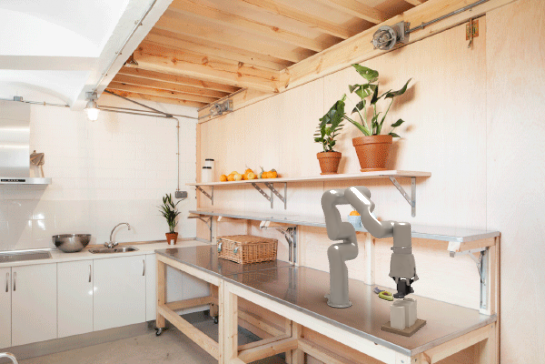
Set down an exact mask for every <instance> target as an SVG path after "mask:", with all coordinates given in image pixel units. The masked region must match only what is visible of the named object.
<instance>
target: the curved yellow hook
mask: <svg viewBox="0 0 545 364" xmlns="http://www.w3.org/2000/svg"><path fill="white" fill-rule="evenodd" d="M373 291H374V292H375V293H377V294H378V297H379V298H381V299H383V300H387V301H394V297H393V294H392V293H393V292H390V291H386V290H384V289H380V288H378V286H375V287H374V288H373Z"/></svg>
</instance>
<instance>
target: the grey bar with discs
mask: <svg viewBox="0 0 545 364" xmlns="http://www.w3.org/2000/svg"><path fill="white" fill-rule="evenodd" d="M406 284H407V283H406V278H401V280H399V281H398V291H397V292H395V293H393V294H392V296H393V299H397V300H398V299H400V300H403V298H405V297H406V296H407V295H406ZM414 293H415V290H414V289H413V286H411V292H410V294H414Z"/></svg>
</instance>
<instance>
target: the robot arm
mask: <svg viewBox="0 0 545 364" xmlns="http://www.w3.org/2000/svg"><path fill="white" fill-rule="evenodd" d="M371 198H372V193H371V190H370V189H369V188H368V187H367V186H365V185H351V186H349V187H346V188H330V189H327V190H325V191H324V192H323V194H322V196H321V198H320V199H321V200H320V206H321V209H322V213H323V216H324V222H325V229H326V235H327V237H328V239H329V241H330V240H331V241H336V242H337V241H342V242H337V243H332V244H331V245H329V247H328V248H327V251H326V252H327V253H326V254H327V259H328V265H329V293H327V292H325V294H324V296H323V297H324V298H325V299H328V300H327V301H326V302H327V303H326V304H327V305H328V307H332V308H337V309H346V308H351V307H352V305H353V302H352V301H351V300H349V299H350V298H349V295H350V294H349V269H348V266H347V264H346V262H347V261H352V260H355V259H356V258H357V257H358V255H359V246H358V245H359V244H358V239H357V232H356V229H355V227H354V225H353V224H352V223H351V222H349V221H343V220H342V216H341V212H340V210H339V208H338V207H337V206H343V205H344V206H345V205H350V206H351V207H352V208H353V210H355V211H356V212H357V213H358V214H359V215H360V221H361V224H362V226H363V227H364V229H365V230H366V231H367V232H368V233H369V234H370V236H372V237H374V238H376V239H388V238H392V240H393V242H392V244H393V245H392V246H391V247H390V251H392V252H391V255H390V262H389V273H388V277H390V279H392V280H393V282H395V285H396V291H397V292H398V281H399V280H401V279H406V283H407V284H406V296H408V295H410V294H411V293H410V292H411V287H412V285H413V283H414V282H417V281H419V280H420V278H419V275H418V273H417V266H416V261H415V260H416V259H415V255H414V254H413V248H412V247H413V246H412V244H413V242H412V241H413V240H412V224H411V223H410V222H407V221H396V220H380V221H379V219H377V217H375V216H374V215H373V214H372V213H373V211H375V208H376V205H375V203H374V201H372V200H371Z"/></svg>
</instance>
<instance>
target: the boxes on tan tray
mask: <svg viewBox="0 0 545 364" xmlns="http://www.w3.org/2000/svg"><path fill="white" fill-rule="evenodd" d="M417 300H418V299H417V298H413V297H412V298H411V297H406V296H405V298H402V299H397V300H395V301H393V302H392V304H390V305H389V309H390V311H389V313H390V319H389V321H387V322H386V323H384V324H383V325H381V327H380V329H381V331H385V332H389V333H392V334H396V335H400V336H404V337H407V338H410V337H412V336H413V335H414V334H415V333H417V332H418V331H419V330H420V329H422V328H423V327H424V326H425V325H427V320H426V319H421V318H418V308H417V307H418V306H417V304H418V303H417Z"/></svg>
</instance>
